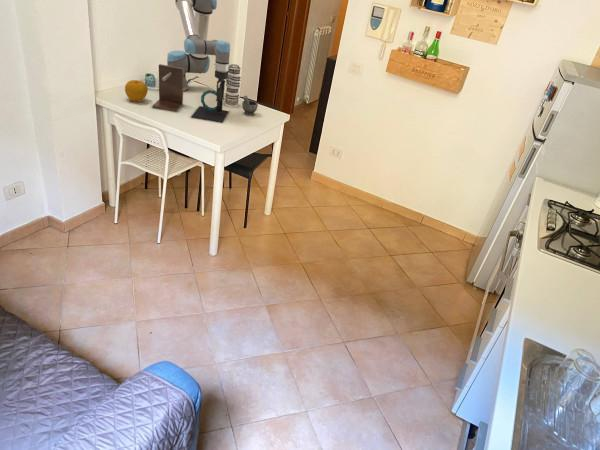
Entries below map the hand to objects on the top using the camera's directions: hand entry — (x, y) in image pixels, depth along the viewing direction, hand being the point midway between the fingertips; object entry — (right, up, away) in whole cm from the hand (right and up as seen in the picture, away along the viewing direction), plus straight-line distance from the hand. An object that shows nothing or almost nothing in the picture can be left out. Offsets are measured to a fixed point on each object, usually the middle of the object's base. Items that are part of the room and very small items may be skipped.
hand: (219, 111), depth 256 cm
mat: (-6, -2, +2) cm, 6 cm away
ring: (-4, +5, -3) cm, 7 cm away
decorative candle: (+3, +10, +23) cm, 25 cm away
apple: (-50, +7, +2) cm, 50 cm away
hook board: (-31, +3, +2) cm, 31 cm away
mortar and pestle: (+16, +2, +14) cm, 21 cm away
